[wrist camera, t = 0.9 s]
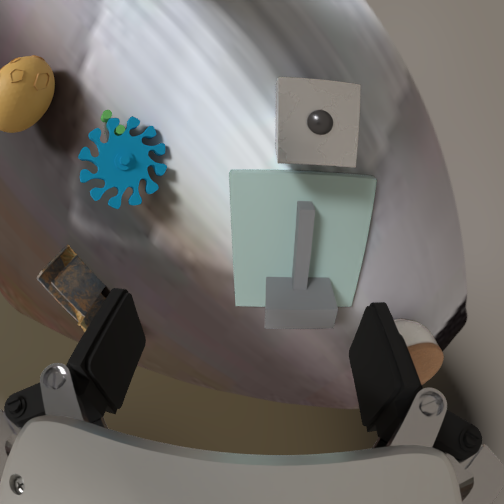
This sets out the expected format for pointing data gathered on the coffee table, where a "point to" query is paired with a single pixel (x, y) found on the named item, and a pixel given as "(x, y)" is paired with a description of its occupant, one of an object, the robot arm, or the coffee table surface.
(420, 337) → the lidded bowl
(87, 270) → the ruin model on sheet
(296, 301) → the plate with grey stand
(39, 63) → the stress ball
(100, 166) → the gear
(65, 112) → the coffee table surface
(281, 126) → the grey box with knob
